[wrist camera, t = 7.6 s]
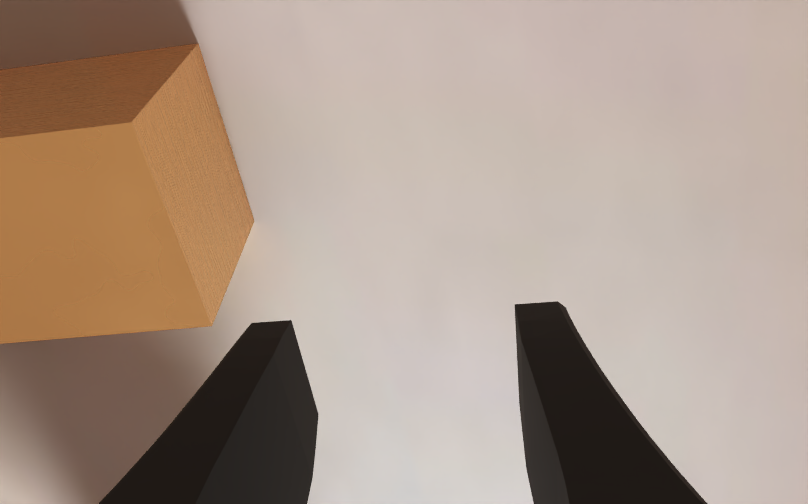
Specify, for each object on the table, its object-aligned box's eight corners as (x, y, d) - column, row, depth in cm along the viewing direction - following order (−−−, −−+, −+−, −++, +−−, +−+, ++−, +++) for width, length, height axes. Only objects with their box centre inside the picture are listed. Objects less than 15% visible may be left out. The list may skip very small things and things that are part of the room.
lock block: (199, 41, 17) (131, 122, 13) (255, 218, 19) (211, 325, 16) (-33, 72, 17) (-160, 157, 14) (53, 239, 20) (-33, 346, 16)
